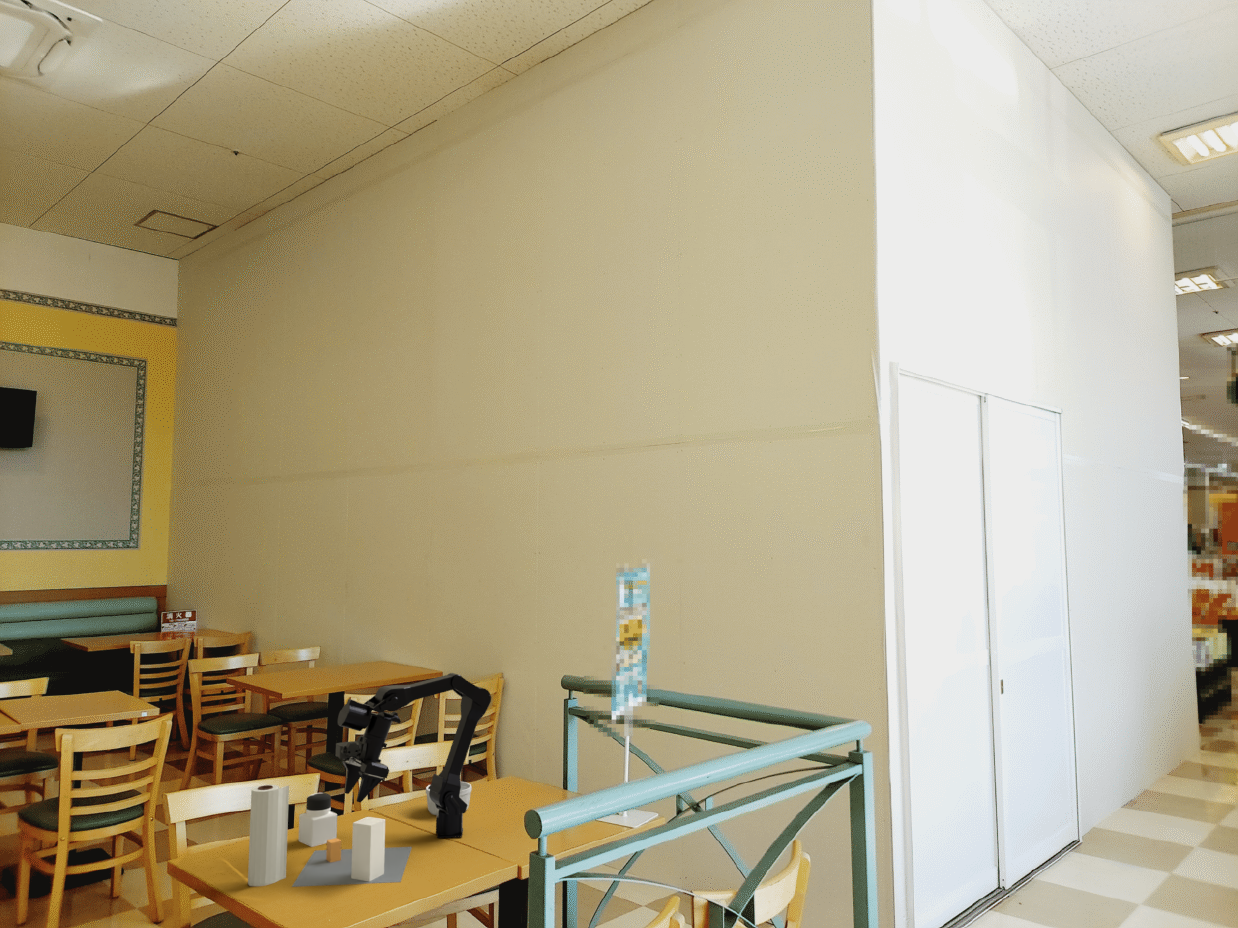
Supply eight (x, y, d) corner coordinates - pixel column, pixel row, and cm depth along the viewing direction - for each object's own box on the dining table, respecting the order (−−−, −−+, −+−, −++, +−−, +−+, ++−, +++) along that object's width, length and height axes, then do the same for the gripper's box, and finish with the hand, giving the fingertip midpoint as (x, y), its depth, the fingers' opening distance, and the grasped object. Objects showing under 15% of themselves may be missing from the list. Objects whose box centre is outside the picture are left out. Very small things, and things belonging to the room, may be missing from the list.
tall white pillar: (366, 870, 210) (367, 816, 211) (383, 873, 208) (385, 819, 209) (351, 877, 205) (352, 822, 206) (369, 881, 203) (371, 825, 204)
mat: (411, 848, 227) (411, 846, 227) (400, 883, 203) (400, 881, 203) (314, 851, 224) (314, 850, 224) (291, 888, 200) (291, 886, 200)
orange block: (336, 857, 219) (337, 837, 219) (340, 859, 217) (341, 840, 217) (326, 859, 217) (326, 840, 218) (330, 862, 215) (331, 842, 216)
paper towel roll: (242, 886, 201) (245, 789, 203) (257, 877, 207) (261, 782, 209) (271, 889, 200) (274, 791, 202) (285, 879, 206) (289, 784, 208)
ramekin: (426, 805, 265) (426, 781, 265) (470, 803, 267) (471, 779, 268) (424, 818, 252) (425, 793, 252) (471, 816, 254) (472, 791, 255)
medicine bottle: (337, 841, 232) (338, 794, 233) (311, 848, 227) (313, 799, 228) (323, 835, 237) (324, 789, 238) (297, 842, 232) (299, 794, 233)
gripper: (334, 721, 232) (311, 782, 227) (358, 734, 216) (334, 799, 212) (373, 732, 237) (351, 791, 233) (399, 745, 222) (376, 809, 218)
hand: (352, 797), depth 224 cm, fingers open, 9 cm apart
